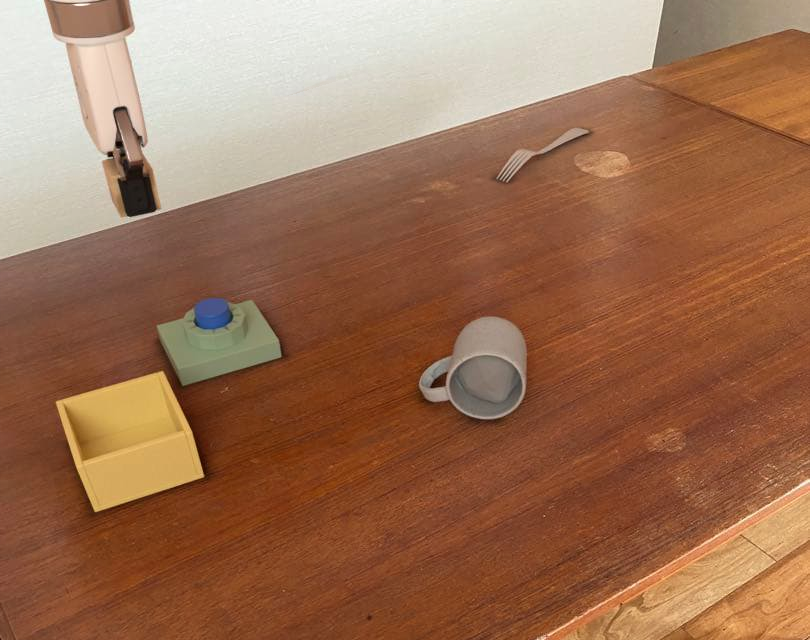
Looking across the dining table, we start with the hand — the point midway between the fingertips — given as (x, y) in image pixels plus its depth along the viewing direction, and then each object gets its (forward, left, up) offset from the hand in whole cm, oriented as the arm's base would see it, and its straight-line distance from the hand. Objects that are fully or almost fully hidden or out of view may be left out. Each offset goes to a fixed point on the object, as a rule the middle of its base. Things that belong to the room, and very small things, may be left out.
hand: (135, 201), depth 94 cm
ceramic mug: (+24, -34, -12) cm, 43 cm away
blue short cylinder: (+3, -14, -8) cm, 16 cm away
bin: (-9, -28, -11) cm, 32 cm away
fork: (+60, +11, -12) cm, 62 cm away
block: (0, 0, 0) cm, 0 cm away
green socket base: (+3, -14, -12) cm, 18 cm away
